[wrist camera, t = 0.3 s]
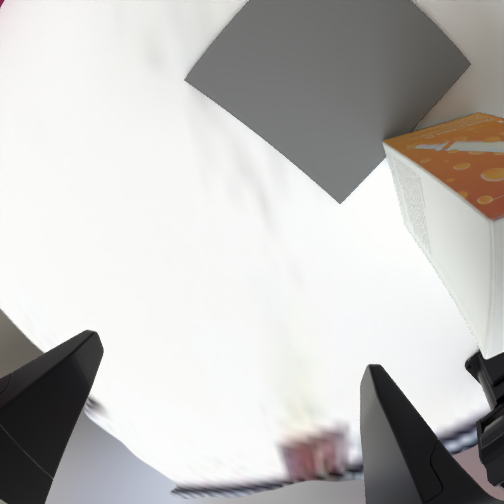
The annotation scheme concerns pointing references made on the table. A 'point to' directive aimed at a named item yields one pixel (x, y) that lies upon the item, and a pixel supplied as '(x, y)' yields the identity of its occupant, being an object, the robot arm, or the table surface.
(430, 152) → the small box
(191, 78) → the mat
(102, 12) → the table surface
